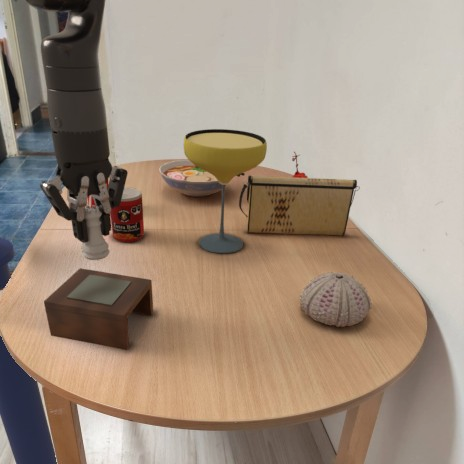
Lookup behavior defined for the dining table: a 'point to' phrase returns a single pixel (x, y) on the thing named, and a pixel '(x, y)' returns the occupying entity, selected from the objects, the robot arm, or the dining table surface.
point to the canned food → (128, 217)
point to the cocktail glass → (224, 169)
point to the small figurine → (297, 174)
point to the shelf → (98, 307)
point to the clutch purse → (298, 205)
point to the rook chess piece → (94, 236)
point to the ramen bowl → (190, 178)
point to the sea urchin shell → (335, 299)
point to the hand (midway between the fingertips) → (93, 237)
